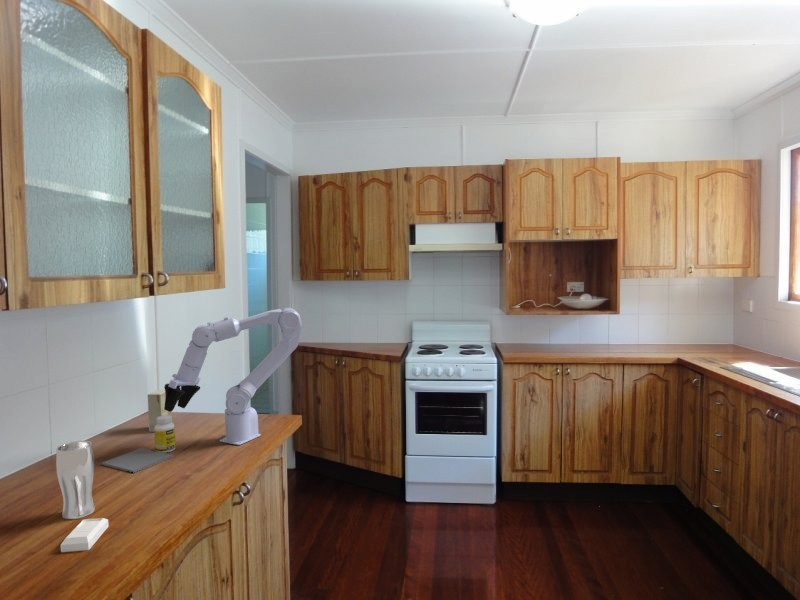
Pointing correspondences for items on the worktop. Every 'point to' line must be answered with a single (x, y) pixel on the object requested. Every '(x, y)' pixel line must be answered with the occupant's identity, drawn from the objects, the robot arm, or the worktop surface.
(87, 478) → the beer glass
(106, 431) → the worktop surface
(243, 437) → the robot arm
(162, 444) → the supplement bottle
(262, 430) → the worktop surface
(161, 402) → the skincare box
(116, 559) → the worktop surface
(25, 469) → the worktop surface
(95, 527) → the soap bar
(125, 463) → the mat
